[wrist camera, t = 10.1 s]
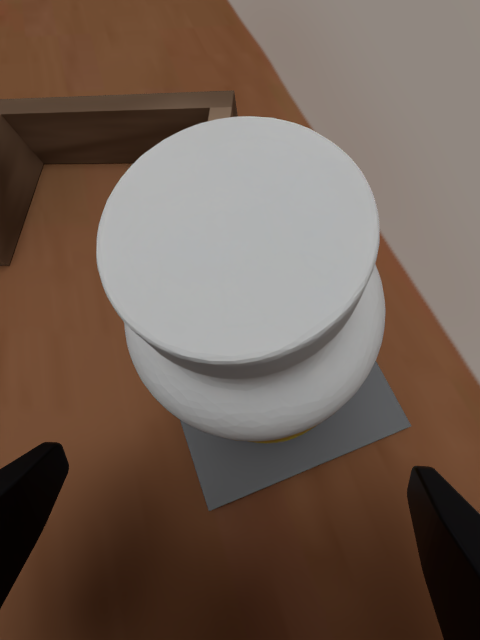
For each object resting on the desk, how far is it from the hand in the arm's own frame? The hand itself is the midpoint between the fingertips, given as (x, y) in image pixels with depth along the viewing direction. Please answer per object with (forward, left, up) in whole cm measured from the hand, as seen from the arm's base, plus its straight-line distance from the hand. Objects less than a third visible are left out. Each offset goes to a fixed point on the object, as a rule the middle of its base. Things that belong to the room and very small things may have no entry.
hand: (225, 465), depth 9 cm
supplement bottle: (+4, 0, -8) cm, 9 cm away
